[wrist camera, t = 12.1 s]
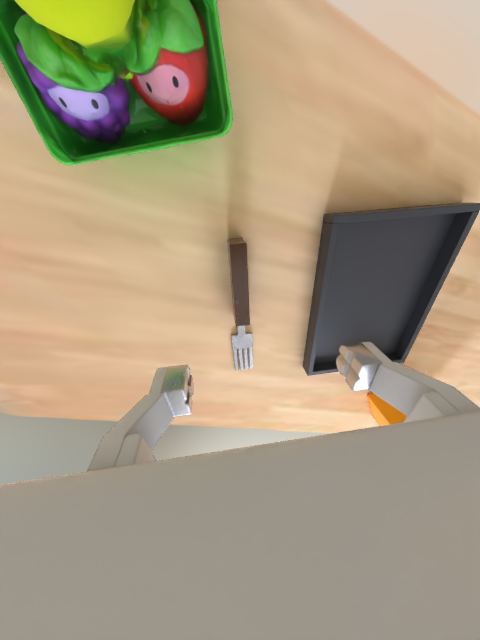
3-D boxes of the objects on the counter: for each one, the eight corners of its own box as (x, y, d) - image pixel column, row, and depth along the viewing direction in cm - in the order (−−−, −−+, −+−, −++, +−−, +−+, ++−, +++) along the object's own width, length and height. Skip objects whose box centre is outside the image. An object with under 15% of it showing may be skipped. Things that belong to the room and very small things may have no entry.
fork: (221, 239, 21) (222, 245, 18) (248, 237, 21) (253, 242, 18) (234, 368, 30) (236, 383, 28) (252, 366, 31) (256, 380, 28)
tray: (323, 214, 21) (333, 215, 19) (462, 202, 22) (483, 203, 20) (302, 366, 32) (307, 375, 30) (394, 354, 33) (404, 362, 31)
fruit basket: (96, 176, 17) (-54, 150, 7) (15, -2, 12) (-693, -714, 3) (229, 149, 17) (251, 89, 7) (200, -37, 12) (161, -850, 3)
